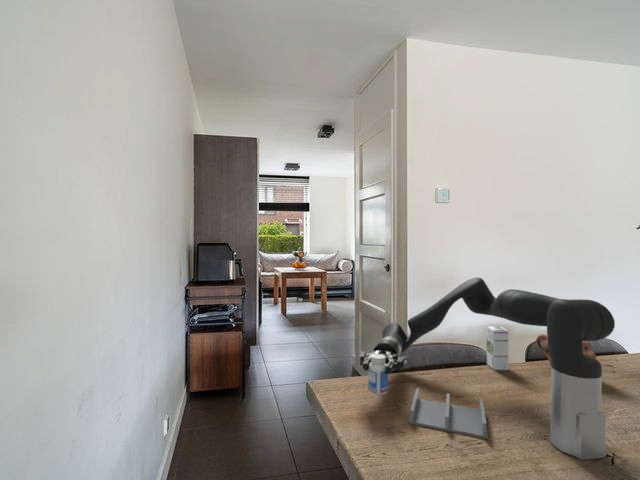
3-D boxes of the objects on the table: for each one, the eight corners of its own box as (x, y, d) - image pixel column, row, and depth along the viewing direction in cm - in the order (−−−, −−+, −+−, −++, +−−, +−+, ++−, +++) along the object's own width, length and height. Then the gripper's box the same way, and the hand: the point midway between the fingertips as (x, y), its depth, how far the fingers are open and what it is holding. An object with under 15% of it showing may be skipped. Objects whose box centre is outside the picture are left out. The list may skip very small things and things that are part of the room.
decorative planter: (525, 366, 130) (525, 329, 130) (544, 361, 136) (544, 325, 136) (586, 387, 112) (587, 343, 112) (605, 380, 118) (606, 338, 118)
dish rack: (414, 400, 102) (414, 387, 102) (483, 412, 95) (484, 399, 95) (408, 423, 89) (408, 409, 89) (488, 439, 82) (488, 424, 82)
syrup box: (509, 370, 126) (509, 330, 126) (492, 370, 126) (493, 329, 126) (501, 364, 132) (501, 326, 132) (485, 364, 132) (486, 325, 132)
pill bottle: (387, 387, 100) (387, 353, 100) (388, 396, 95) (389, 359, 95) (367, 386, 101) (368, 352, 101) (368, 394, 95) (368, 358, 95)
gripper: (410, 366, 108) (402, 387, 93) (365, 359, 114) (350, 378, 98) (411, 341, 108) (403, 358, 93) (365, 336, 114) (350, 351, 98)
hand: (376, 368), depth 95 cm, fingers closed on pill bottle, 5 cm apart
